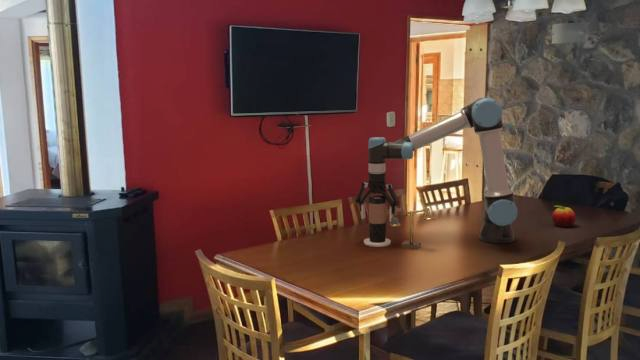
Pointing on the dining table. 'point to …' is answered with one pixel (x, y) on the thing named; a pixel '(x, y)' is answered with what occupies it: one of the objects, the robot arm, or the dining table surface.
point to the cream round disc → (372, 244)
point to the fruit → (563, 216)
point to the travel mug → (377, 219)
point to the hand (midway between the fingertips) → (377, 219)
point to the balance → (411, 243)
